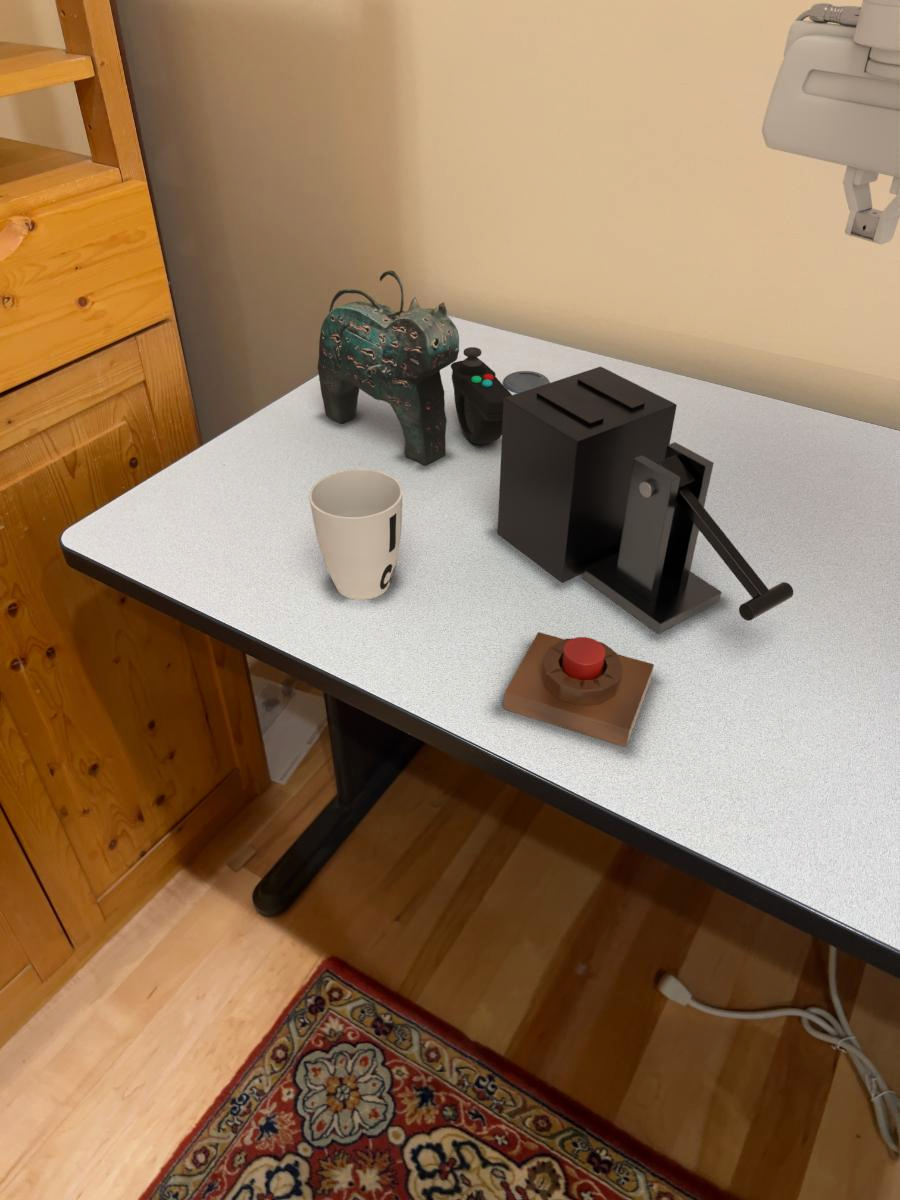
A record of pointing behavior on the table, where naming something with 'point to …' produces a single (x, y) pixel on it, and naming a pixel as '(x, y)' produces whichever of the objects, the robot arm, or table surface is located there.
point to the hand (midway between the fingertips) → (867, 238)
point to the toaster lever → (726, 548)
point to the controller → (478, 398)
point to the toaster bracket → (657, 547)
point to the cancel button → (583, 658)
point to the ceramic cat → (389, 366)
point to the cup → (358, 529)
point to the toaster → (575, 465)
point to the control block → (579, 692)
